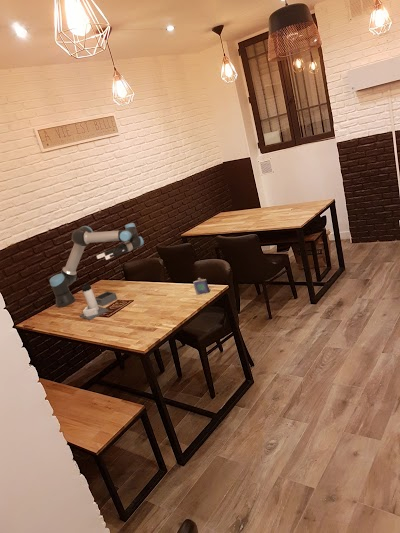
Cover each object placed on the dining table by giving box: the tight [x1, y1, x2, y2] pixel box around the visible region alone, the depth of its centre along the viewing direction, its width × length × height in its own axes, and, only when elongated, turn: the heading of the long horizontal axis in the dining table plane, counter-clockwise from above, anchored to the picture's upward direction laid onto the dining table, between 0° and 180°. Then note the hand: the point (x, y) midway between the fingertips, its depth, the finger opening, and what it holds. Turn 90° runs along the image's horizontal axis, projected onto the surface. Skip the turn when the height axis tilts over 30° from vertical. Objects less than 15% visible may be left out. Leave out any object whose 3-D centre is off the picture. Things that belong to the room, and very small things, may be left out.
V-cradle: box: [79, 305, 109, 322], centre depth 283 cm, size 16×15×5 cm
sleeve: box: [95, 290, 118, 307], centre depth 302 cm, size 12×12×5 cm
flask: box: [192, 277, 210, 295], centre depth 264 cm, size 9×3×11 cm, turn 76°
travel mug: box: [81, 283, 100, 311], centre depth 282 cm, size 6×7×20 cm
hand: (101, 257), depth 298 cm, fingers open, 13 cm apart
